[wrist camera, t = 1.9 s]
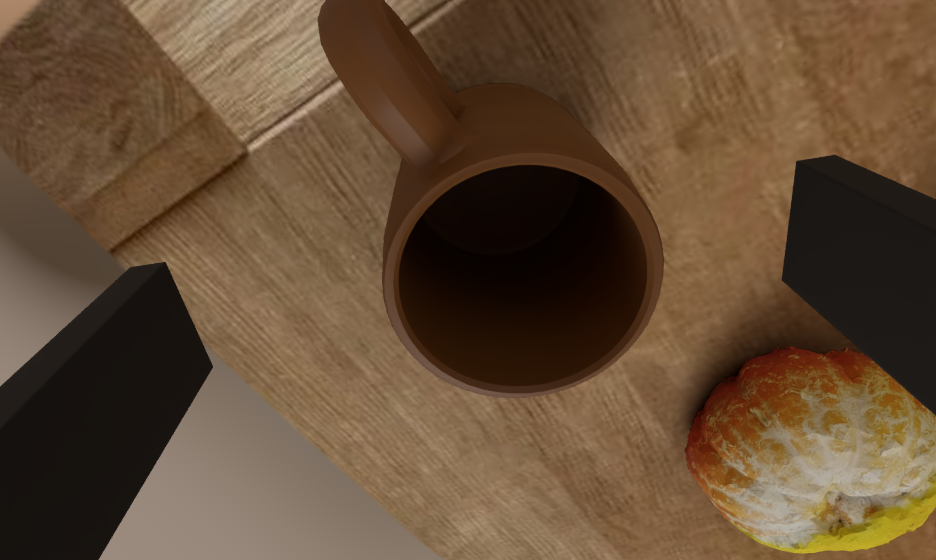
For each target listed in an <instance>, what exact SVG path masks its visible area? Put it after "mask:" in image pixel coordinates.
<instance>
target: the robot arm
mask: <svg viewBox="0 0 936 560" xmlns="http://www.w3.org/2000/svg"><path fill="white" fill-rule="evenodd" d="M782 281H783V282H784V283H785V284H787V285H788V286H789V287H790V288H791V289H792V290H793V291H794V292H796V293H797V294H798V295H799V296H800V297H801V298H802V299H804V300H805V301H806V302H807V303H808V304H809V305H810V306H811V307H813V308H814V309H815V310H816V311H817V312H818V313H819V314H821V315H822V316H823V317H824V318H825V319H826V320H827V321H828V322H830V323H831V324H832V325H833V326H834V327H835V328H836V329H838V330H839V331H840V332H841V333H842V334H843V335H844V336H846V337H847V338H848V339H849V340H850V341H851V342H852V343H853V344H855V345H856V346H857V347H858V348H859V349H860V350H861V351H863V352H864V353H865V354H866V355H867V356H868V357H869V358H870V359H872V360H873V361H874V362H875V363H876V364H877V365H878V366H880V367H881V368H882V369H883V370H884V371H885V372H886V373H888V374H889V375H890V376H891V377H892V378H893V379H894V380H895V381H897V382H898V383H899V384H900V385H901V386H902V387H903V388H905V389H906V390H907V391H908V392H909V393H910V394H911V395H912V396H914V397H915V398H916V399H917V400H918V401H919V402H920V403H922V404H923V405H924V406H925V407H926V408H927V409H928V410H929V411H931V412H932V413H933V414H934V415H935V416H936V199H933V198H931V197H929V196H927V195H924V194H922V193H920V192H918V191H915V190H913V189H911V188H909V187H906V186H904V185H902V184H899V183H897V182H895V181H893V180H890V179H888V178H886V177H884V176H881V175H879V174H877V173H875V172H872V171H870V170H868V169H866V168H863V167H861V166H859V165H857V164H854V163H852V162H850V161H847V160H845V159H843V158H841V157H838V156H836V155H831V156H825V157H819V158H813V159H806V160H800V161H796V169H795V177H794V185H793V193H792V201H791V209H790V217H789V225H788V234H787V242H786V250H785V258H784V266H783V274H782ZM212 368H213V366H212V363H211V361H210V359H209V357H208V354H207V352H206V350H205V348H204V346H203V343H202V341H201V339H200V337H199V335H198V332H197V330H196V328H195V326H194V324H193V321H192V319H191V317H190V315H189V313H188V310H187V308H186V306H185V304H184V302H183V299H182V297H181V295H180V293H179V291H178V288H177V286H176V284H175V282H174V280H173V278H172V275H171V273H170V271H169V269H168V267H167V264H166V262H162V263H155V264H149V265H143V266H136V267H130V268H129V269H128V270H127V271H126V272H125V273H124V274H123V275H121V276H120V277H119V278H118V279H117V280H116V281H115V282H114V283H113V284H112V285H111V286H109V287H108V288H107V289H106V290H105V291H104V292H103V293H102V294H101V295H100V296H99V297H97V298H96V299H95V300H94V301H93V302H92V303H91V304H90V305H89V306H88V307H87V308H85V309H84V310H83V311H82V312H81V313H80V314H79V315H78V316H77V317H76V318H75V319H73V320H72V321H71V322H70V323H69V324H68V325H67V326H66V327H65V328H64V329H62V330H61V331H60V332H59V333H58V334H57V335H56V336H55V337H54V338H53V339H52V340H50V342H49V343H47V344H46V345H45V346H44V347H43V348H42V349H41V350H40V351H39V352H37V353H36V354H35V355H34V356H33V357H32V358H31V359H30V360H29V361H28V362H27V363H25V364H24V365H23V366H22V367H21V368H20V369H19V370H18V371H17V372H16V373H14V375H12V376H11V377H10V378H9V379H8V380H7V381H6V382H5V383H4V384H3V385H1V386H0V560H99V558H100V556H101V555H102V553H103V551H104V550H105V548H106V546H107V544H108V543H109V541H110V539H111V538H112V536H113V534H114V533H115V531H116V529H117V528H118V526H119V524H120V523H121V521H122V519H123V517H124V516H125V514H126V512H127V511H128V509H129V508H130V506H131V504H132V502H133V501H134V499H135V497H136V496H137V494H138V492H139V491H140V489H141V487H142V486H143V484H144V482H145V481H146V479H147V477H148V476H149V474H150V472H151V471H152V469H153V467H154V465H155V464H156V462H157V460H158V459H159V457H160V455H161V454H162V452H163V450H164V448H165V447H166V445H167V444H168V442H169V440H170V439H171V437H172V435H173V434H174V432H175V430H176V428H177V427H178V425H179V423H180V422H181V420H182V418H183V417H184V415H185V413H186V412H187V410H188V408H189V407H190V405H191V403H192V402H193V400H194V398H195V397H196V395H197V393H198V392H199V390H200V388H201V386H202V385H203V383H204V381H205V380H206V378H207V376H208V375H209V373H210V371H211V370H212Z"/></svg>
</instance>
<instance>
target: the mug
mask: <svg viewBox="0 0 936 560" xmlns="http://www.w3.org/2000/svg"><path fill="white" fill-rule="evenodd" d="M318 27H319V35H320V40H321V45H322V47H323V49H324V52H325V54H326V56H327V58H328V60H329V62H330V64H331V66H332V67H333V69H334V70H335V72H336V74H337V75H338V77H339V78H340V80H341V82H342V83H343V85H344V86H345V88H346V89H347V91H348V92H349V94H350V95H351V97H352V98H353V99H354V101H355V102H356V104H357V105H358V107H359V108H360V109H361V111H362V112H363V113H364V114H365V116H366V117H367V118H368V119H369V121H370V122H371V123H372V124H373V125H374V126H375V128H376V129H377V130H378V131H379V132H380V133H381V134H382V135H383V136H384V138H385V139H386V140H387V141H388V142H389V143H390V144H391V145H392V146H393V147H394V149H395V150H396V151H397V152H398V153H399V154H400V155H401V156H402V161H401V165H400V170H399V173H398V176H397V180H396V184H395V188H394V193H393V197H392V202H391V206H390V211H389V215H388V220H387V224H386V229H385V235H384V245H383V272H382V286H383V298H384V302H385V306H386V310H387V314H388V316H389V319H390V321H391V324H392V326H393V328H394V330H395V332H396V334H397V335H398V337H399V339H400V341H401V342H402V343H403V345H404V346H405V347H406V348H407V350H408V351H409V352H410V354H411V355H412V356H413V357H414V358H415V359H416V360H417V361H418V362H419V363H420V364H421V365H422V366H424V367H425V368H426V369H428V370H429V371H430V372H432V373H433V374H434V375H436V376H437V377H439V378H441V379H443V380H444V381H446V382H448V383H450V384H452V385H454V386H457V387H459V388H461V389H464V390H467V391H470V392H474V393H477V394H482V395H487V396H493V397H503V398H527V397H535V396H543V395H547V394H551V393H556V392H559V391H562V390H565V389H568V388H571V387H574V386H576V385H578V384H581V383H583V382H585V381H587V380H589V379H591V378H593V377H594V376H596V375H598V374H599V373H601V372H603V371H604V370H605V369H607V368H608V367H609V366H611V365H612V364H613V363H615V362H616V361H617V360H618V359H619V358H620V357H621V356H622V355H624V354H625V353H626V352H627V351H628V350H629V349H630V347H631V346H632V345H633V344H634V343H635V341H636V340H637V339H638V338H639V336H640V335H641V333H642V332H643V330H644V329H645V327H646V326H647V324H648V322H649V320H650V318H651V316H652V314H653V312H654V310H655V307H656V304H657V301H658V298H659V295H660V290H661V285H662V280H663V267H664V257H663V248H662V242H661V238H660V234H659V231H658V227H657V225H656V223H655V220H654V218H653V216H652V214H651V212H650V210H649V208H648V207H647V205H646V204H645V202H644V201H643V199H642V197H641V196H640V194H639V192H638V191H637V189H636V187H635V186H634V184H633V183H632V181H631V179H630V178H629V176H628V175H627V173H626V172H625V171H624V170H623V168H622V167H621V166H620V165H619V164H618V163H617V162H616V161H615V159H614V158H613V157H612V156H611V155H610V154H609V153H608V152H607V151H606V150H605V149H604V148H603V146H602V145H601V144H600V143H599V142H598V141H597V140H596V139H595V138H594V137H593V136H592V135H591V134H590V133H589V131H588V130H587V129H586V128H585V127H584V126H582V125H581V124H580V123H579V122H578V121H577V120H576V119H575V118H574V117H573V116H572V114H571V113H570V112H569V111H567V110H566V109H565V108H564V107H563V106H561V105H560V104H559V103H558V102H557V101H555V100H553V99H552V98H550V97H548V96H547V95H545V94H544V93H541V92H539V91H537V90H534V89H532V88H529V87H525V86H521V85H517V84H509V83H489V84H483V85H477V86H474V87H470V88H467V89H464V90H462V91H459V92H457V93H455V94H453V93H452V91H451V90H450V88H449V87H448V86H447V84H446V83H445V81H444V80H443V78H442V77H441V75H440V74H439V72H438V71H437V69H436V68H435V66H434V65H433V63H432V62H431V60H430V59H429V57H428V56H427V54H426V53H425V52H424V50H423V49H422V47H421V46H420V44H419V43H418V42H417V40H416V39H415V37H414V36H413V35H412V33H411V32H410V31H409V29H408V28H407V27H406V25H405V24H404V23H403V21H402V20H401V19H400V18H399V16H398V15H397V14H396V13H395V12H394V11H393V10H392V8H391V7H390V6H389V5H388V4H387V3H386V2H385V1H384V0H326V1H325V2H324V4H323V5H322V6H321V10H320V13H319V17H318Z"/></svg>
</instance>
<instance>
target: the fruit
mask: <svg viewBox="0 0 936 560" xmlns="http://www.w3.org/2000/svg"><path fill="white" fill-rule="evenodd" d="M737 372H739V374H738V375H737V376H736V377H724V379H723V380H722V381H721V382H719V383H718V384H717V385H716V387H715V388H714V389H713V390H712V392H711V393H710V394H711V395H710V396H709V397H708V400H707V401H706V402H705V407H704V408H703V409H702V410H700V411H699V412H698V413H697V417H696V418H695V419H694V423H693V426H692V428H691V429H690V433H689V435H688V443H687V447H686V449H685V453H686V460H687V465H688V469H689V471H690V472H691V474H692V475H693V477H694V479H695V480H696V481H697V483H698V484H699V485H700V487H701V488H702V489H703V491H704V492H705V493H706V494H707V495H708V497H709V499H710V500H711V502H712V503H713V504H714V505H715V507H716V508H717V509H718V510H719V511H720V512H721V514H722V515H723V517H725V518H726V519H728V520H729V521H730V522H731V523H732V524H733V525H734V526H736V527H737V528H738V529H739V530H740V531H742V532H743V533H745V534H746V535H748V536H749V537H751V538H752V539H754V540H756V541H758V542H759V543H761V544H764V545H766V546H769V547H772V548H775V549H779V550H782V551H787V552H793V553H809V552H811V553H815V552H819V551H825V550H833V551H838V550H846V551H854V550H858V549H866V550H867V549H868V548H871V547H875V546H879V545H883V544H885V543H889V541H890V540H893V539H895V538H896V537H898V536H900V535H902V534H904V533H905V532H908V531H914V530H915V529H916V528H917V527H920V526H922V524H923V523H924V522H925V520H926V519H927V518H928V516H929V515H930V513H932V512H933V509H934V508H935V507H936V416H935V415H934V414H933V413H932V412H931V411H929V410H928V409H927V408H926V407H925V406H924V405H923V404H922V403H920V402H919V401H918V400H917V399H916V398H915V397H914V396H912V395H911V394H910V393H909V392H908V391H907V390H906V389H905V388H903V387H902V386H901V385H900V384H899V383H898V382H897V381H895V380H894V379H893V378H892V377H891V376H890V375H889V374H888V373H886V372H885V371H884V370H883V369H882V368H881V367H880V366H878V365H877V364H876V363H875V362H874V361H873V360H872V359H870V358H869V357H868V356H866V355H862V354H859V353H858V352H853V351H850V350H849V349H848V347H846V348H845V349H843V350H841V351H840V352H839V351H836V350H834V351H832V350H831V351H828V352H825V353H822V354H818V353H814V352H812V351H809V350H802V349H798V348H795V347H791V346H787V347H786V348H784V349H782V350H780V349H779V347H777V348H776V349H775V350H773V351H772V352H771V353H769V354H766V355H763V356H757V357H755V358H754V359H753V358H749V359H747V361H746V362H745V363H744V364H743V366H742V369H741V370H740V371H737Z"/></svg>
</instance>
